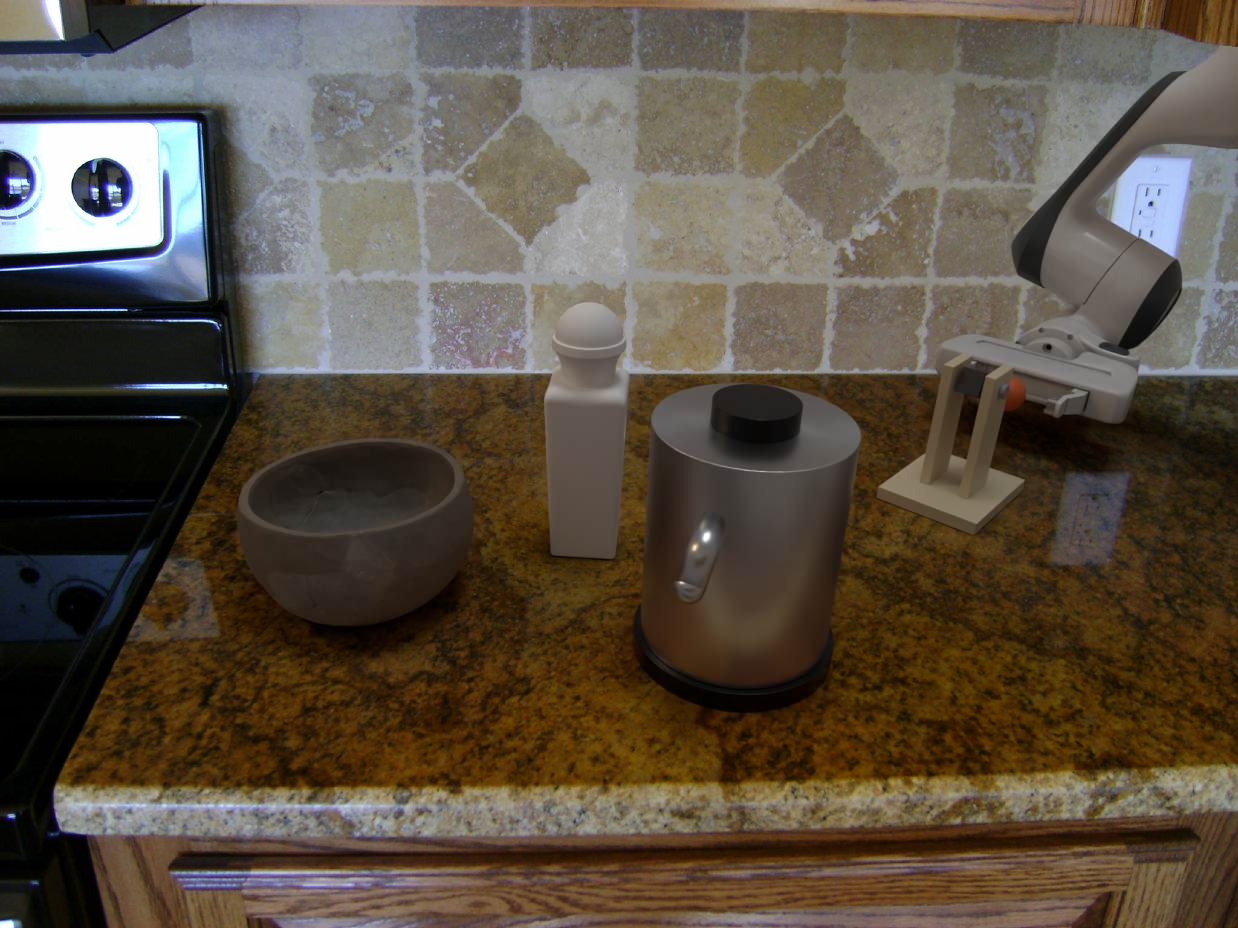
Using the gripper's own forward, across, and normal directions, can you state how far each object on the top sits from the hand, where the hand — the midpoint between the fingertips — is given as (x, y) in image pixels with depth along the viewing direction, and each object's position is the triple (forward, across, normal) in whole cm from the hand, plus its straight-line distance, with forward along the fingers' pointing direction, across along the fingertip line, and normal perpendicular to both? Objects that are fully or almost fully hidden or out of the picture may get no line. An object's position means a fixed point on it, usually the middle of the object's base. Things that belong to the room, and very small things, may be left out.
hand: (1005, 395), depth 96 cm
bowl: (+59, -28, +8) cm, 66 cm away
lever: (+5, 0, 0) cm, 5 cm away
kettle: (+44, -2, +8) cm, 45 cm away
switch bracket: (+10, 0, +8) cm, 12 cm away
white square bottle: (+42, -20, +8) cm, 47 cm away
